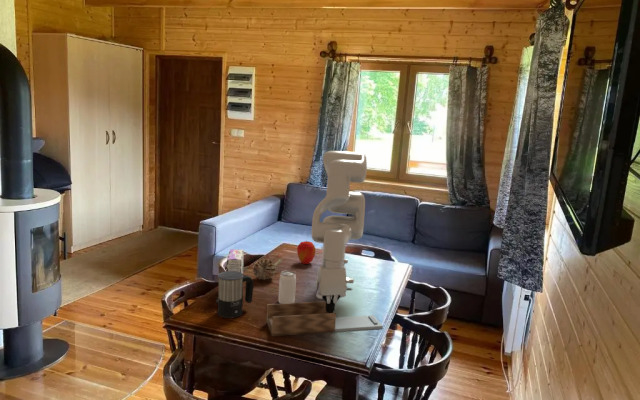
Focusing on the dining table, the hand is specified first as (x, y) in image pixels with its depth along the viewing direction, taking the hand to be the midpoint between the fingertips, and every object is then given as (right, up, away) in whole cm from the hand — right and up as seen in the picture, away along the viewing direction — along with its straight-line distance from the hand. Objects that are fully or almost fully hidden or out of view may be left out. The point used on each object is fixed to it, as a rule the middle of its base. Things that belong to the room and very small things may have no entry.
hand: (329, 312), depth 174 cm
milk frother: (-38, -1, +10) cm, 39 cm away
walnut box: (-10, -5, -2) cm, 12 cm away
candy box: (-39, +2, +27) cm, 47 cm away
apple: (-11, +8, +71) cm, 72 cm away
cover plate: (+9, -5, +3) cm, 11 cm away
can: (-17, -1, +20) cm, 26 cm away
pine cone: (-27, +5, +47) cm, 55 cm away
